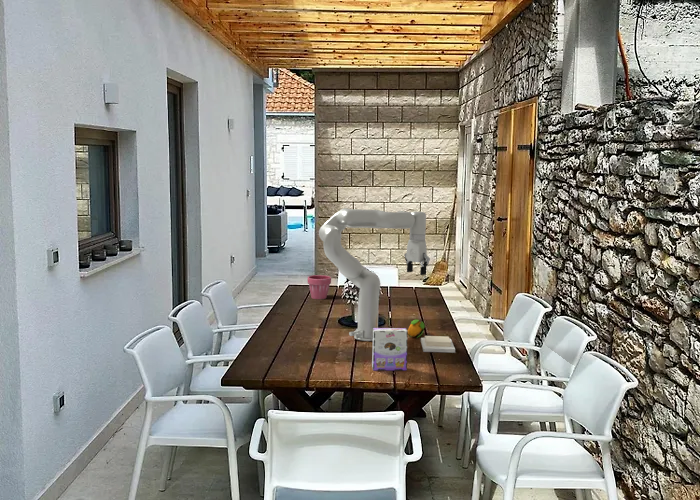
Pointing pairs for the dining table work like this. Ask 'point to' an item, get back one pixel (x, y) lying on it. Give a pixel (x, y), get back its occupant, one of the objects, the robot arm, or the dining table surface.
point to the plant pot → (319, 286)
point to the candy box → (389, 349)
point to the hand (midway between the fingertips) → (416, 273)
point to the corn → (416, 328)
